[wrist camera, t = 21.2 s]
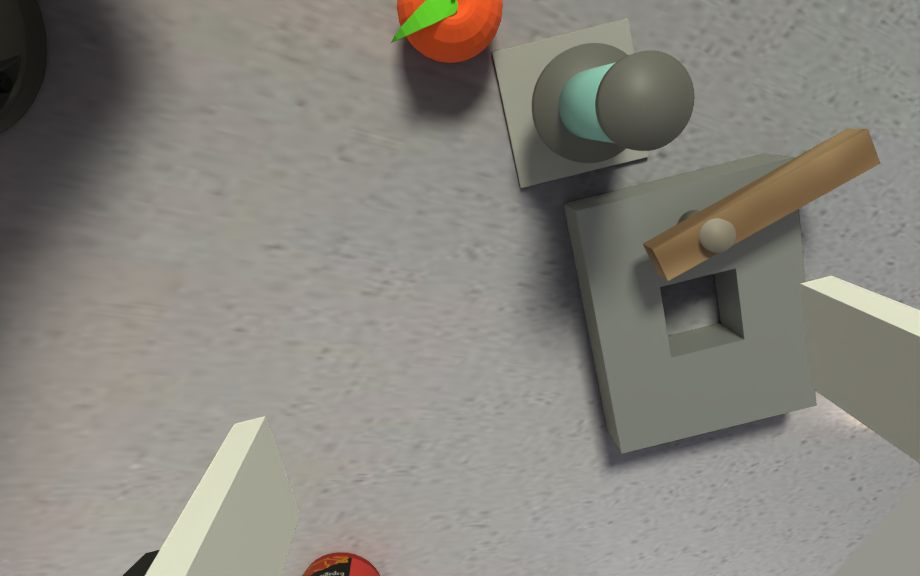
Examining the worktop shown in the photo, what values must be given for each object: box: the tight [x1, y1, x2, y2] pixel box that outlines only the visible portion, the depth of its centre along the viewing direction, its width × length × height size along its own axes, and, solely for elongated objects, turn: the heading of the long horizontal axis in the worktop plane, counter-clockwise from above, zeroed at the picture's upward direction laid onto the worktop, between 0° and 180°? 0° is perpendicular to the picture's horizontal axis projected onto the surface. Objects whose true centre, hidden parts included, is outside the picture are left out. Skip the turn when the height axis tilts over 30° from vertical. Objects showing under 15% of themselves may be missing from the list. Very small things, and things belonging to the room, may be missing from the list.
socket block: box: [564, 154, 816, 454], centre depth 50 cm, size 16×20×4 cm
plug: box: [532, 43, 694, 163], centre depth 39 cm, size 8×8×16 cm
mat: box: [492, 18, 649, 188], centre depth 47 cm, size 10×10×1 cm
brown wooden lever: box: [643, 129, 880, 281], centre depth 44 cm, size 2×16×4 cm, turn 120°
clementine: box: [391, 0, 503, 63], centre depth 42 cm, size 8×7×7 cm
